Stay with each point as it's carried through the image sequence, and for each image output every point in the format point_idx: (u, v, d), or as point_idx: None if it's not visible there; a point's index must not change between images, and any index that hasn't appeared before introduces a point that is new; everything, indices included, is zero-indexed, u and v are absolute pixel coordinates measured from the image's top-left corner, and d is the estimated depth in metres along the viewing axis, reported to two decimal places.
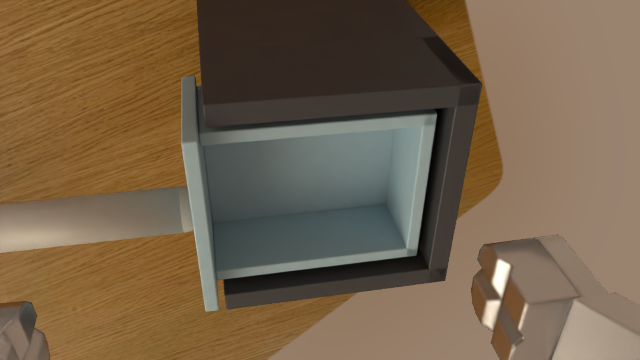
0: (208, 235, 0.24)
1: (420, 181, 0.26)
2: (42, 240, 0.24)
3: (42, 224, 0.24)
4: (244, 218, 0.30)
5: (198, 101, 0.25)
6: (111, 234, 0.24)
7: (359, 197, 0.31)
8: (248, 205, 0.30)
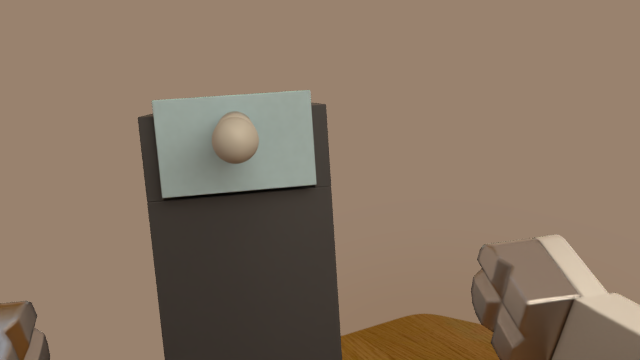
0: None
1: None
2: (235, 115, 0.28)
3: (221, 120, 0.28)
4: None
5: None
6: None
7: None
8: None
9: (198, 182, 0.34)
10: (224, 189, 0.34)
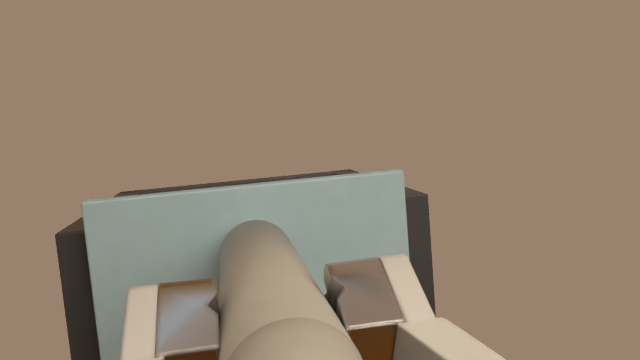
0: (249, 184, 0.17)
1: None
2: (275, 268, 0.11)
3: (239, 281, 0.11)
4: None
5: None
6: (268, 241, 0.13)
7: None
8: None
9: None
10: None
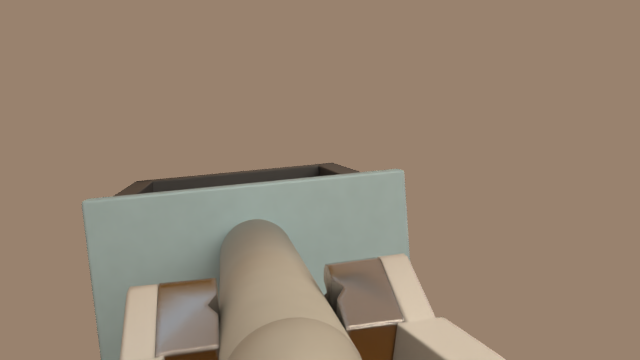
0: (249, 183, 0.17)
1: None
2: (275, 268, 0.11)
3: (238, 281, 0.11)
4: None
5: None
6: (268, 240, 0.13)
7: None
8: None
9: None
10: None
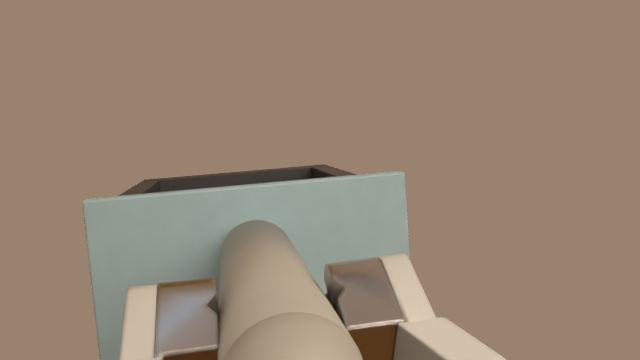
0: (250, 184, 0.17)
1: None
2: (275, 265, 0.11)
3: (238, 278, 0.11)
4: None
5: None
6: (269, 240, 0.13)
7: None
8: None
9: None
10: None
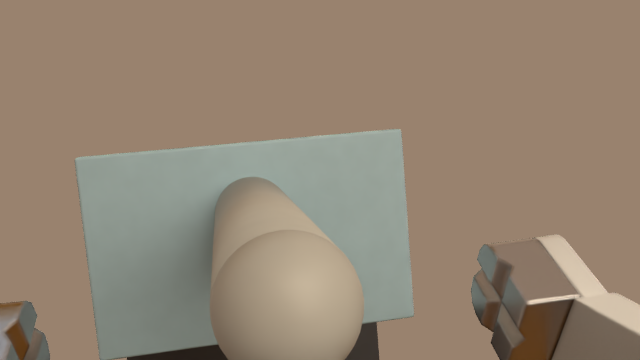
0: (245, 143, 0.17)
1: None
2: (269, 203, 0.10)
3: (232, 217, 0.10)
4: None
5: None
6: (263, 188, 0.13)
7: None
8: None
9: (176, 325, 0.16)
10: None
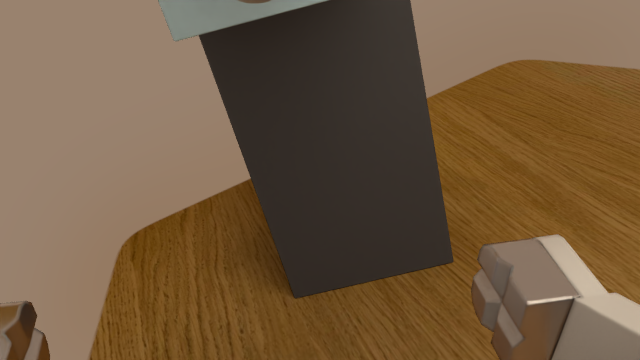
0: None
1: None
2: None
3: None
4: None
5: None
6: None
7: None
8: None
9: (223, 7, 0.21)
10: (266, 11, 0.21)
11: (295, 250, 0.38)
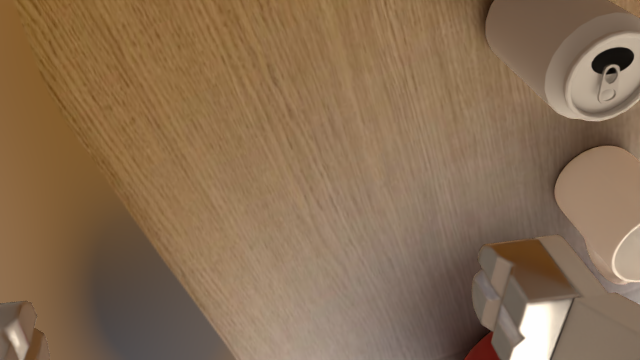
0: None
1: None
2: None
3: None
4: None
5: None
6: None
7: None
8: None
9: None
10: None
11: None
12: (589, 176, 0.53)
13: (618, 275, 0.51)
